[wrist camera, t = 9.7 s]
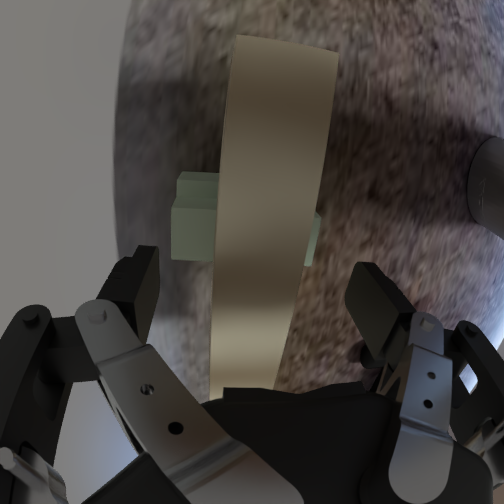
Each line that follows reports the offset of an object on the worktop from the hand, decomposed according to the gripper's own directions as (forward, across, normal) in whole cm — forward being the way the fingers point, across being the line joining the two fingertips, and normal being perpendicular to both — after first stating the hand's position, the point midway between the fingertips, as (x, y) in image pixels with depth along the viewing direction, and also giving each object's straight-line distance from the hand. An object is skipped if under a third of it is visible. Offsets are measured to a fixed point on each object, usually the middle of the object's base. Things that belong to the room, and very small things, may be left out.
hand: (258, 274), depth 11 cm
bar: (+4, 0, 0) cm, 5 cm away
